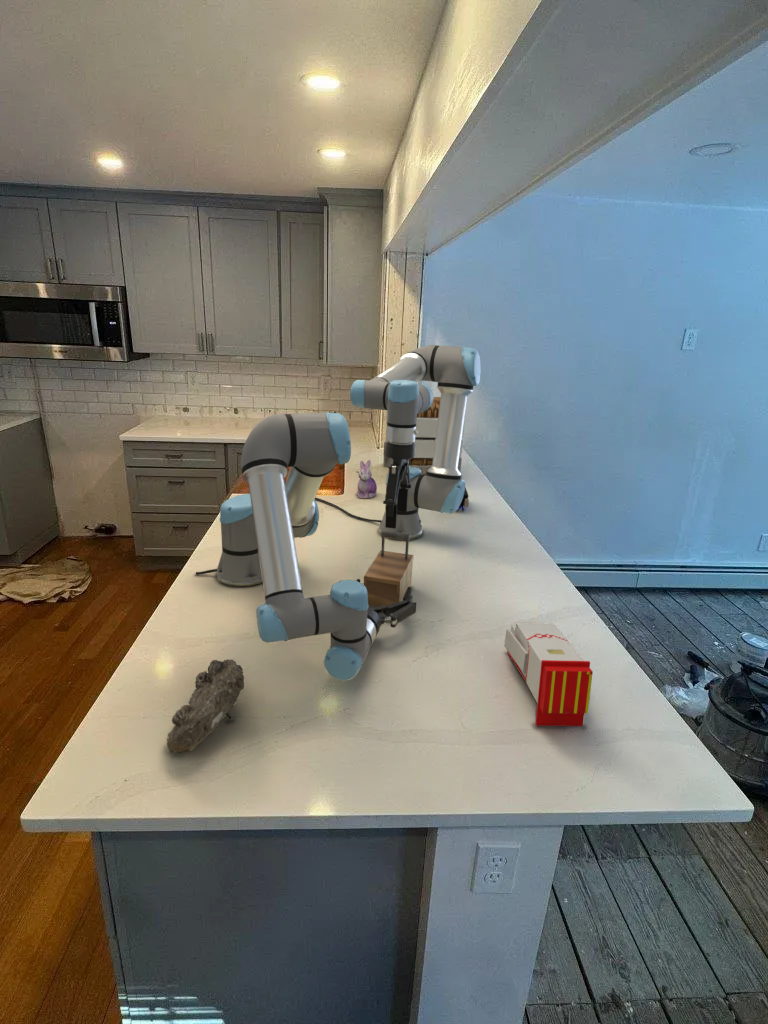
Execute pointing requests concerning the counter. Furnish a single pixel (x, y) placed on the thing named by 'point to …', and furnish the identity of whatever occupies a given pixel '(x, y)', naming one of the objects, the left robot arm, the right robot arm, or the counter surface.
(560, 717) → the toy
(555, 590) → the counter surface
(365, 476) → the figurine
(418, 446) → the wooden drawer cabinet
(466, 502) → the figurine character
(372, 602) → the chest
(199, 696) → the fossil
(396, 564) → the lid
